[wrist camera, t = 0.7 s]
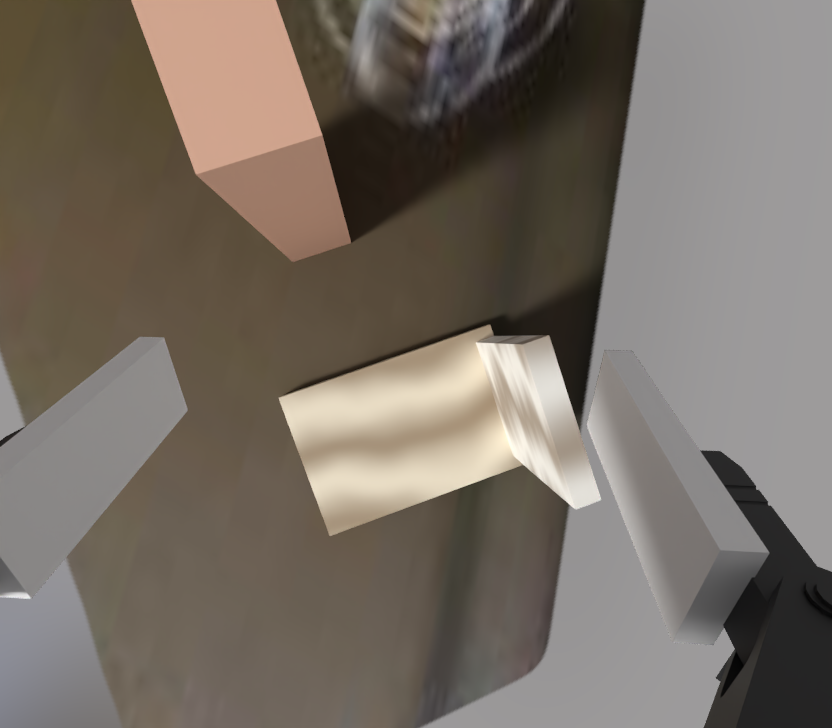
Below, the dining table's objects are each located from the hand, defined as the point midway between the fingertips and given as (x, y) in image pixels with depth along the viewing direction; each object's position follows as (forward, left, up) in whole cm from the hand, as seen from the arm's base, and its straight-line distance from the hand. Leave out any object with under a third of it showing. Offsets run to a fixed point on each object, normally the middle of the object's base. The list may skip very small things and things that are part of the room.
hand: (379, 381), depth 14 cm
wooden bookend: (+7, 0, -24) cm, 25 cm away
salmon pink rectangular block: (-13, -2, -24) cm, 28 cm away
